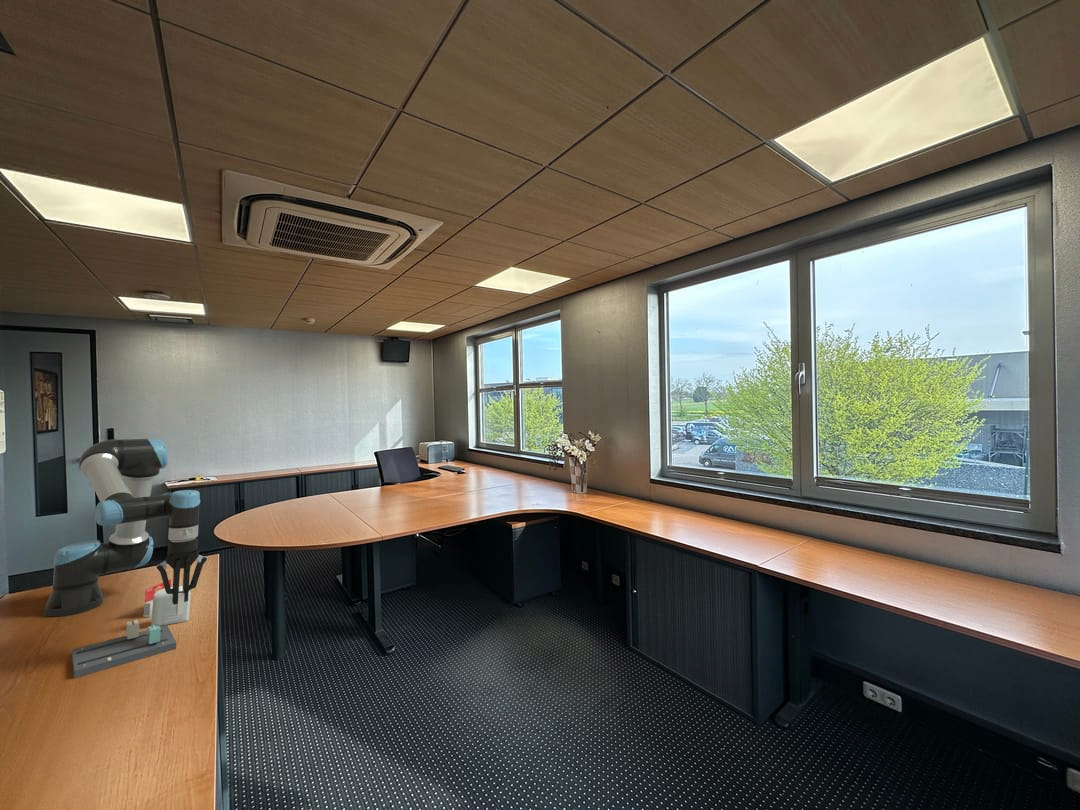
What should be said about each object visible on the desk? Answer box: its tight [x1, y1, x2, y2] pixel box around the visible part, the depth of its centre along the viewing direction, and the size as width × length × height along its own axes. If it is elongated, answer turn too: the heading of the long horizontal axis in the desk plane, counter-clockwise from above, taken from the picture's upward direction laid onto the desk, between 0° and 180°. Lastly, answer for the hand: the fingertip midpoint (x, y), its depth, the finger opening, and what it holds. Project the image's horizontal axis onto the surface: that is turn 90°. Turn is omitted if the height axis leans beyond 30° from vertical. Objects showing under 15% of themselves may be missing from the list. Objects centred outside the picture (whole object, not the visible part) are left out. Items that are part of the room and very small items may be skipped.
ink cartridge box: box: [142, 578, 172, 618], centre depth 163 cm, size 2×11×10 cm, turn 179°
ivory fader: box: [125, 619, 140, 639], centre depth 139 cm, size 4×2×5 cm, turn 49°
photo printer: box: [150, 585, 192, 627], centre depth 154 cm, size 10×4×12 cm, turn 123°
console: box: [71, 624, 177, 679], centre depth 135 cm, size 16×22×2 cm
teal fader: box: [147, 624, 161, 644], centre depth 137 cm, size 4×2×5 cm, turn 49°
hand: (179, 612), depth 141 cm, fingers closed
